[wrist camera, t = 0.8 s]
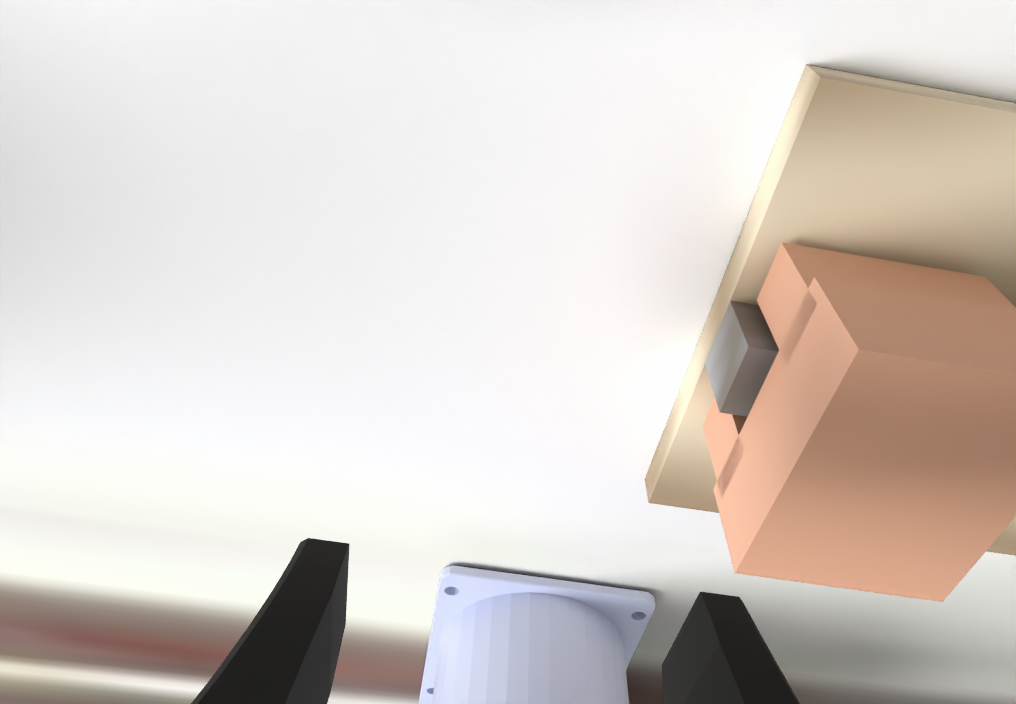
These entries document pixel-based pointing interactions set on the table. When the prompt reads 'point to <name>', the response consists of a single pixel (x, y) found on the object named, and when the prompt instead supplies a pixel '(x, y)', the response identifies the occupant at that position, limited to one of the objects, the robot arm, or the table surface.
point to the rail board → (848, 233)
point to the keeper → (872, 428)
